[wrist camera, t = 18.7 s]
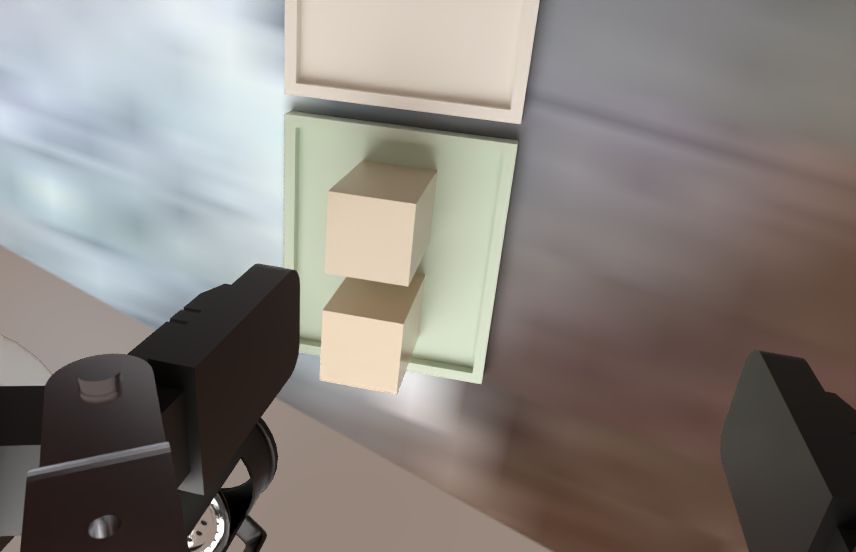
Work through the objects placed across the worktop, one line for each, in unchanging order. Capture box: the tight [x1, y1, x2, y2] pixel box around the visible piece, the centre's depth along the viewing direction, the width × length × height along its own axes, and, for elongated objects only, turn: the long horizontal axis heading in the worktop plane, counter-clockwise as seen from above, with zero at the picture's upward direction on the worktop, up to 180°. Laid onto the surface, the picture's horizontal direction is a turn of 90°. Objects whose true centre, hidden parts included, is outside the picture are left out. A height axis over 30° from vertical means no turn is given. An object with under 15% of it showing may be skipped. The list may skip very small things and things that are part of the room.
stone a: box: [320, 273, 425, 395], centre depth 35 cm, size 4×4×6 cm
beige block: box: [325, 160, 437, 287], centre depth 32 cm, size 4×4×6 cm
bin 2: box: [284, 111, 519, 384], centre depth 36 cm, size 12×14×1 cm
